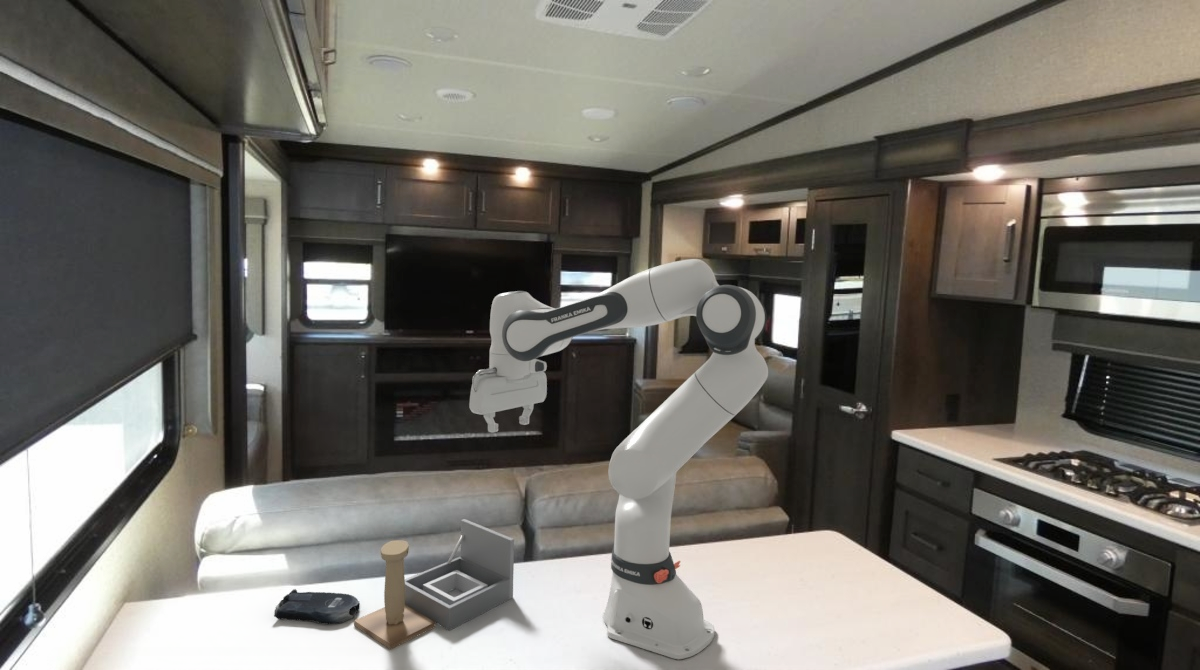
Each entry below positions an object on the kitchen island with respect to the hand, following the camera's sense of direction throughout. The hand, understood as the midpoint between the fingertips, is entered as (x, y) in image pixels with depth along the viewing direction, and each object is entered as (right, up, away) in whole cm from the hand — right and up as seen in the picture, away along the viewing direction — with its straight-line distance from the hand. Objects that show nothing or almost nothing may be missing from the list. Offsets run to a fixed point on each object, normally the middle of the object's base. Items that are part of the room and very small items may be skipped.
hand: (509, 427), depth 145 cm
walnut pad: (-20, -36, -17) cm, 45 cm away
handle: (-20, -35, -17) cm, 44 cm away
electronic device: (-36, -36, -12) cm, 52 cm away
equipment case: (-10, -35, -6) cm, 37 cm away
